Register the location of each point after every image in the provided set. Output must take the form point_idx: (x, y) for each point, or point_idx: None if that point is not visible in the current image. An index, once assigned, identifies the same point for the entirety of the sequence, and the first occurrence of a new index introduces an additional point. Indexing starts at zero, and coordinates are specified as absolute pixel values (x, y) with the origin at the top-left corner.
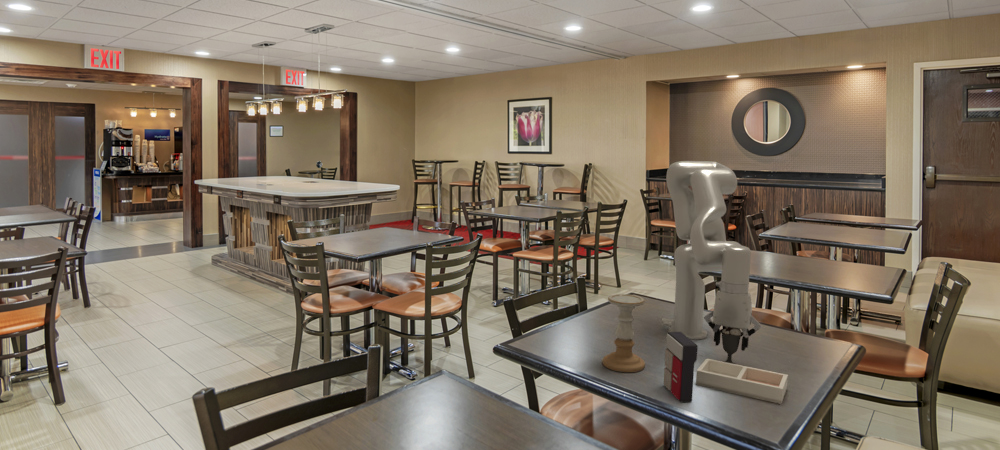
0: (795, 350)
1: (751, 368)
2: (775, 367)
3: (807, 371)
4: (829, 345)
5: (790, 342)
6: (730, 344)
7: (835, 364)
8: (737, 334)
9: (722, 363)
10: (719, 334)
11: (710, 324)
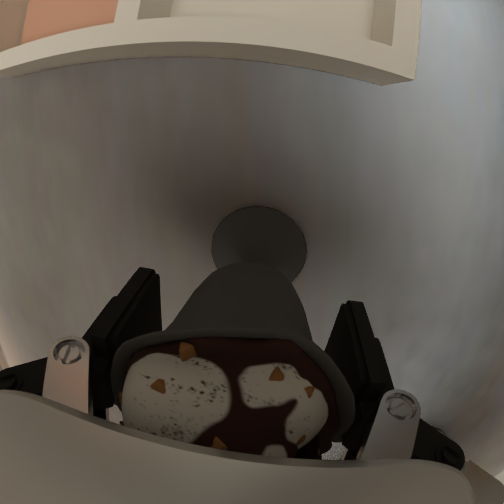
0: None
1: (90, 31)
2: (80, 300)
3: (13, 297)
4: None
5: None
6: (236, 286)
7: (8, 362)
8: (143, 363)
9: (288, 23)
10: None
11: (449, 453)
